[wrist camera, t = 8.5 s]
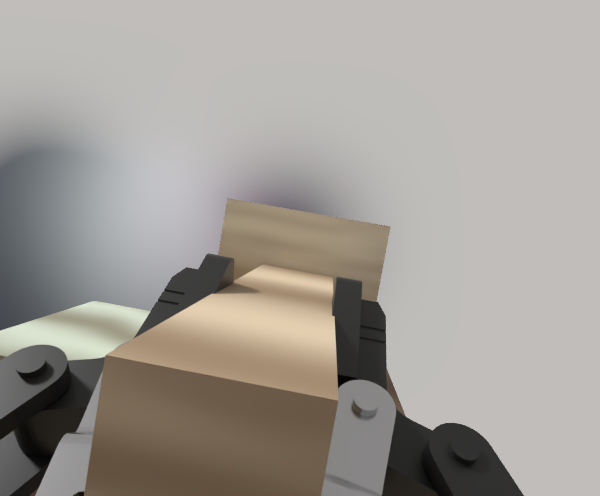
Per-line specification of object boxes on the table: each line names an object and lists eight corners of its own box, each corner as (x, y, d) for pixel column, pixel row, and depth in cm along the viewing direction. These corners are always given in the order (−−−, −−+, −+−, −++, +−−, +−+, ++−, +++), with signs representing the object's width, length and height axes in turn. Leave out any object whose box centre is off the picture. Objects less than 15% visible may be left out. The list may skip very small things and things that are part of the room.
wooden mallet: (416, 845, 6) (543, 228, 5) (-94, 717, 6) (-18, 133, 6) (347, 348, 30) (370, 226, 29) (241, 328, 30) (262, 207, 30)
